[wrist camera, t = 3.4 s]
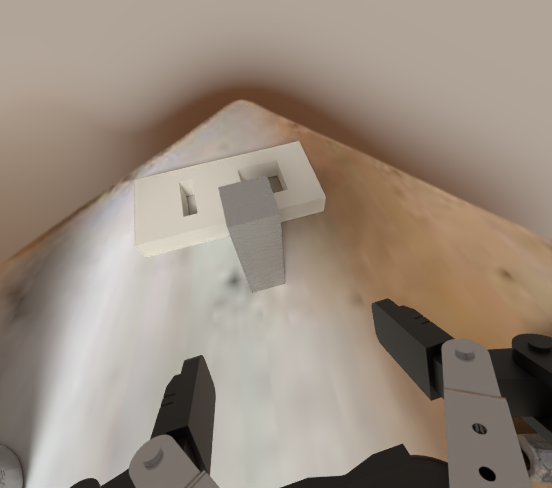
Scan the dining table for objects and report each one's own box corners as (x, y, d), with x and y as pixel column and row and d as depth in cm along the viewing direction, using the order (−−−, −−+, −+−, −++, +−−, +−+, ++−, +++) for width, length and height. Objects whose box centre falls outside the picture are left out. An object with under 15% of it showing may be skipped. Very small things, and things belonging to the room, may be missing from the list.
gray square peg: (252, 292, 32) (227, 227, 20) (244, 263, 34) (218, 187, 22) (284, 283, 32) (280, 213, 20) (275, 254, 34) (266, 175, 22)
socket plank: (146, 257, 35) (134, 246, 32) (143, 193, 40) (133, 179, 38) (323, 211, 37) (325, 197, 34) (298, 156, 42) (299, 140, 40)
